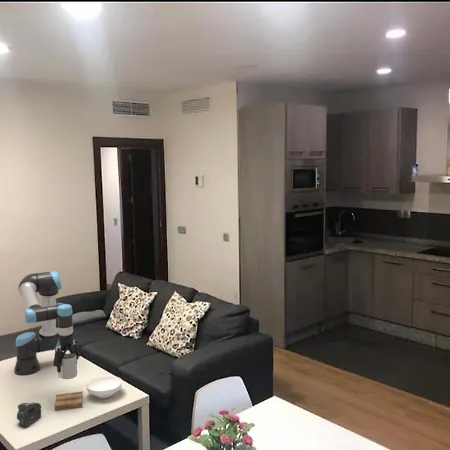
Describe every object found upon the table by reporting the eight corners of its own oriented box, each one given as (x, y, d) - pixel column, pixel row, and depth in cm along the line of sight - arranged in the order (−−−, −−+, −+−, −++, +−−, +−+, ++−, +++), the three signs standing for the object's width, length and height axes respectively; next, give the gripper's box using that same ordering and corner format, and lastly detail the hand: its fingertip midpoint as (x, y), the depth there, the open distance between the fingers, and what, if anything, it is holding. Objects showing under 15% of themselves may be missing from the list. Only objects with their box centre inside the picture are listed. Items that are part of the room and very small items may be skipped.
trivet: (56, 399, 266) (56, 394, 266) (82, 395, 270) (82, 391, 270) (54, 411, 253) (54, 406, 252) (82, 407, 256) (82, 402, 256)
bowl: (129, 390, 276) (128, 378, 275) (110, 405, 258) (109, 393, 257) (99, 385, 283) (99, 373, 282) (79, 400, 264) (78, 388, 263)
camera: (23, 415, 249) (22, 396, 248) (43, 414, 249) (42, 396, 248) (13, 429, 236) (12, 409, 234) (34, 428, 236) (33, 408, 235)
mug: (77, 377, 256) (76, 358, 255) (61, 380, 253) (59, 360, 252) (76, 369, 267) (75, 350, 266) (60, 371, 264) (59, 352, 263)
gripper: (54, 341, 246) (56, 383, 248) (86, 328, 264) (87, 368, 267) (44, 338, 249) (46, 380, 252) (76, 326, 268) (77, 365, 271)
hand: (67, 374), depth 259 cm, fingers closed on mug, 9 cm apart
